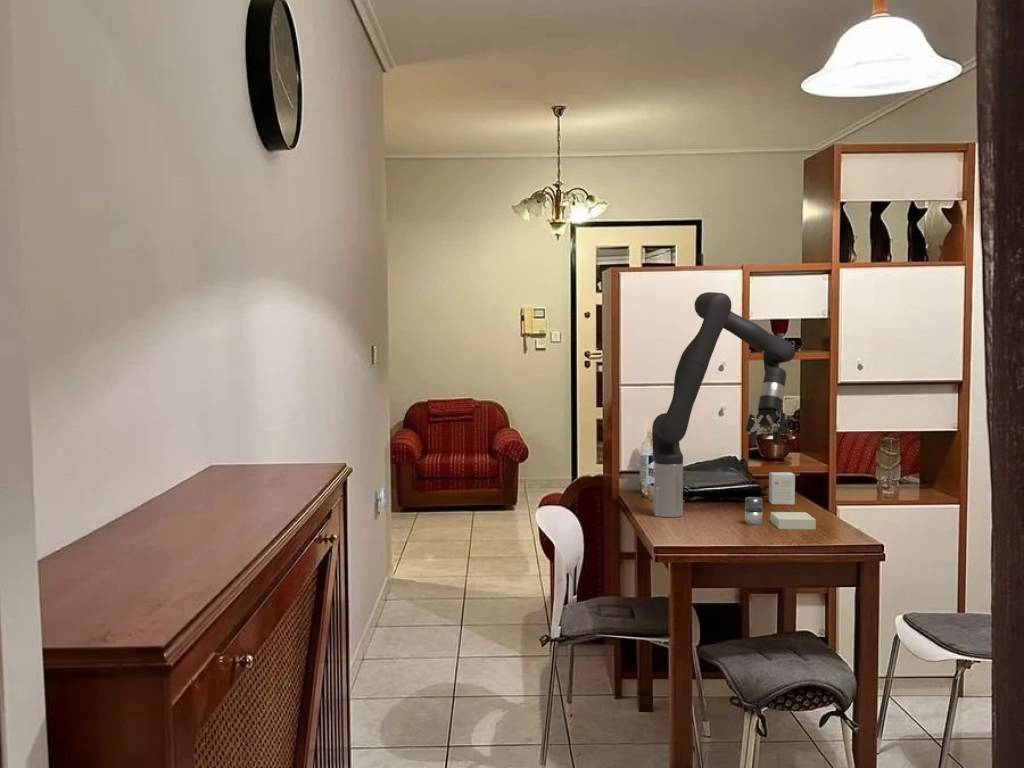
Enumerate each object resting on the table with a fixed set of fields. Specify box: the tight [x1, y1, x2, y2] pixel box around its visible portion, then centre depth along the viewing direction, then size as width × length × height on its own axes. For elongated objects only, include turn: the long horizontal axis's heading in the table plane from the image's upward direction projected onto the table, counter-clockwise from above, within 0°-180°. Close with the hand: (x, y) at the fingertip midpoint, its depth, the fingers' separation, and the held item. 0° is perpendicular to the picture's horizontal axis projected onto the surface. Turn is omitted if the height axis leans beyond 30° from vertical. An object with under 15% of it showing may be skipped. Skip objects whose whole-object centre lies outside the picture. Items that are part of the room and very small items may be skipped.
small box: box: [768, 471, 796, 506], centre depth 317 cm, size 8×6×10 cm
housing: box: [744, 496, 764, 526], centre depth 283 cm, size 5×5×8 cm
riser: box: [769, 511, 817, 530], centre depth 281 cm, size 11×11×3 cm
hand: (763, 444), depth 298 cm, fingers open, 8 cm apart
